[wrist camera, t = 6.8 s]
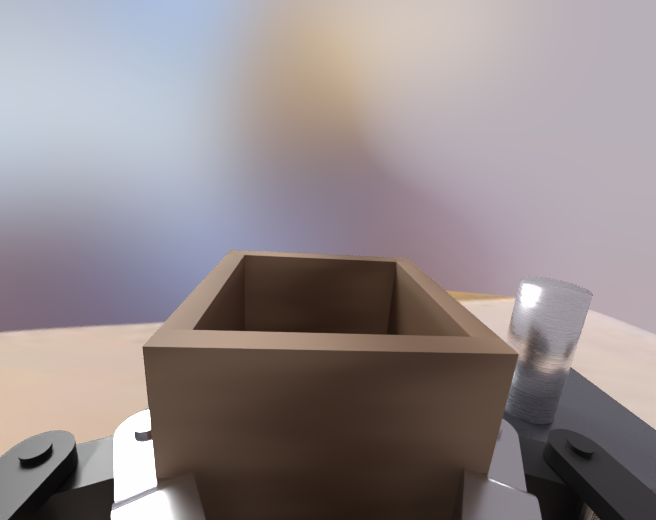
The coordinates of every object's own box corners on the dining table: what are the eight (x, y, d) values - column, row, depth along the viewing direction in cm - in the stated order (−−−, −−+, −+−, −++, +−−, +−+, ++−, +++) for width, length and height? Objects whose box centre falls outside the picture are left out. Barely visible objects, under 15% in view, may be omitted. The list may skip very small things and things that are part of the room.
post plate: (457, 514, 13) (500, 331, 11) (391, 367, 22) (407, 255, 20) (721, 508, 14) (809, 340, 12) (550, 369, 23) (582, 263, 21)
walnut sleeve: (178, 703, 8) (142, 346, 5) (234, 466, 14) (230, 249, 12) (434, 684, 9) (519, 354, 6) (378, 464, 15) (407, 258, 12)
